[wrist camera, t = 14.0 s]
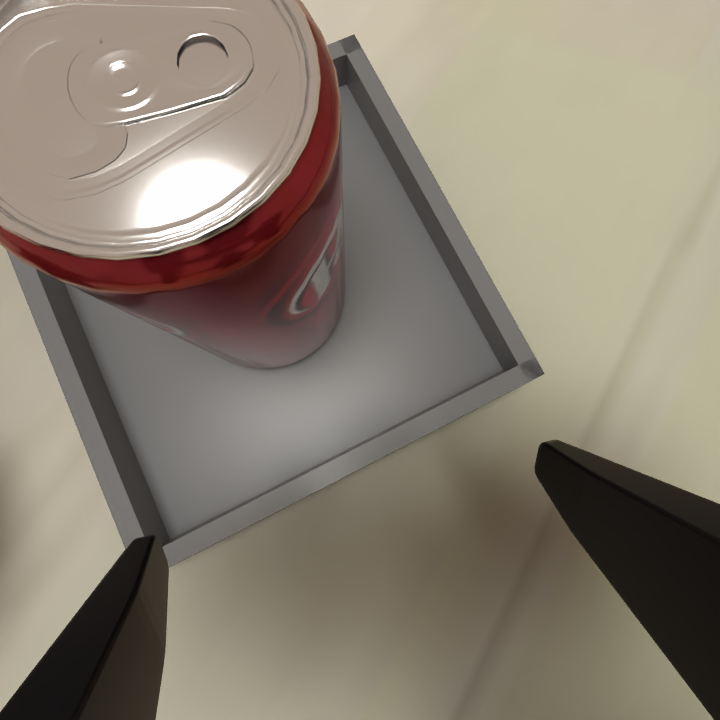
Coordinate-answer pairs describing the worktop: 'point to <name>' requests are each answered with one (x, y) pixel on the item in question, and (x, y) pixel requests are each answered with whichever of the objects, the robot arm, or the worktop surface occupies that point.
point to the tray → (297, 380)
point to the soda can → (179, 165)
